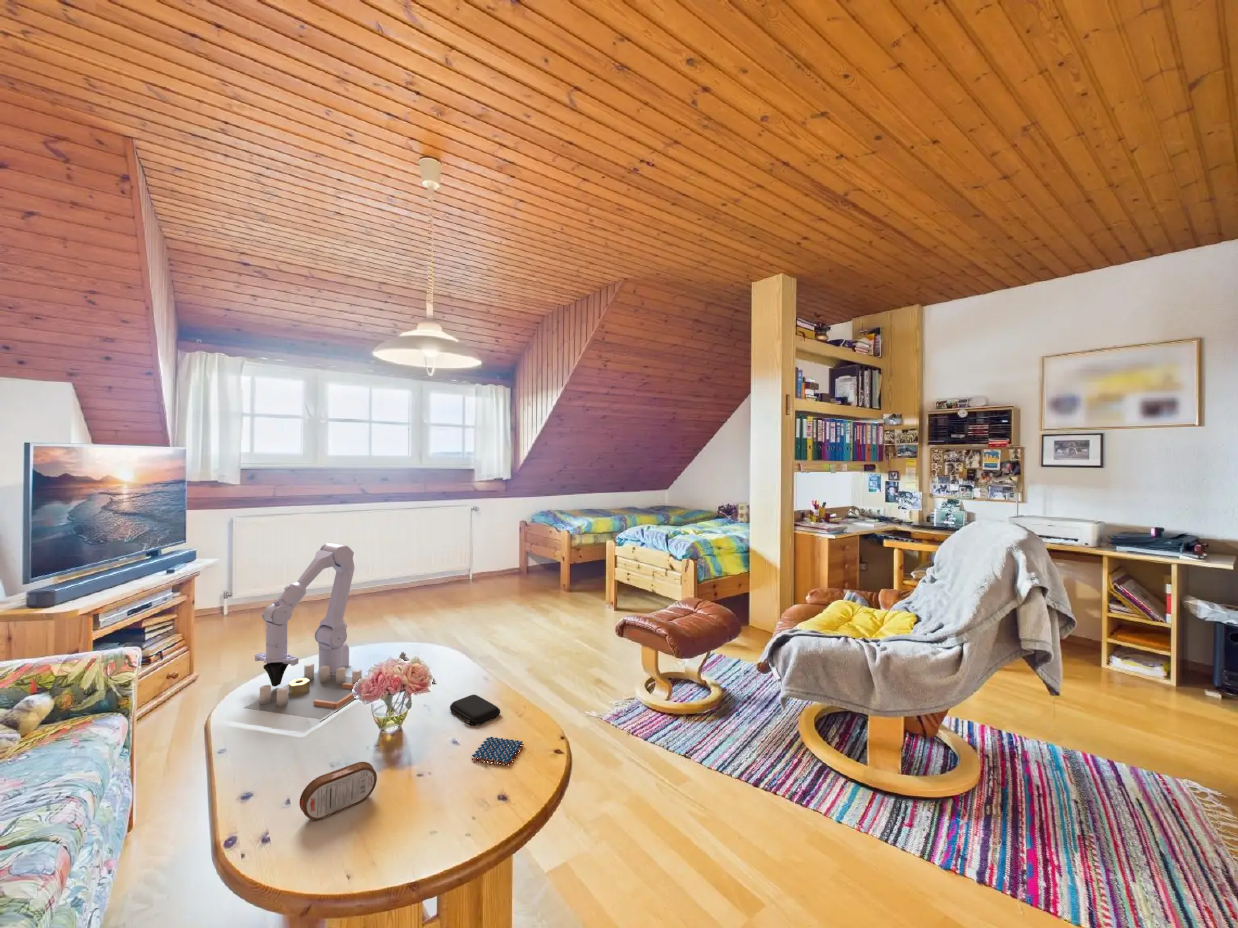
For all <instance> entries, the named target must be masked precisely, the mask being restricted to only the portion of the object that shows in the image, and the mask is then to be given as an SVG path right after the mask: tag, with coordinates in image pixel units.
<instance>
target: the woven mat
mask: <svg viewBox="0 0 1238 928" xmlns="http://www.w3.org/2000/svg"><path fill="white" fill-rule="evenodd" d="M508 745H509V746H508ZM520 745H524V746H525V744H524V743H523V740H518V739H517V740H516V739H514V740H513V739H509V738H506V739H505V738H503V737H501V738H500V737H497V736H496V737H495V736H489V737H486V738H485V740H483V741H482V743H481V744H480V747H477V750H475V751H474V754H472V755H471V757H472V758H471V760H472V762H473V761H475V762H478V761H481V762H484V761H485V762H487V761H488V762H489V763H491V762H494V763H493V765H494V764H496V765H498V764H497V762H498V763H501V766H502V765H505V764H506V765H508V764H509V765H510V766H511V765H512V763H513V762H512V761H514V762H515V760H516V758H517V756H518V755H519V753H520V752H519V750H520V748H522V747H523V748H524V746H520ZM523 748H522V749H523ZM518 752H519V753H518ZM515 753H516V754H515ZM515 757H516V758H515ZM477 758H478V759H477ZM513 759H514V760H513ZM485 762H484V763H485ZM506 765H505V766H506Z"/></svg>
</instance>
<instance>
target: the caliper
mask: <svg viewBox="0 0 1238 928" xmlns="http://www.w3.org/2000/svg"><path fill="white" fill-rule="evenodd" d="M399 658H401V659H403V660H404V661H409V660H411V659H410V658H409V657H408V656H407V654H406V653H405V652H404V651H403V652H402V651H401V652H400V654H399ZM399 658H398V659H399ZM435 682H437V681H436V680H435V678H434V677H433V683H435ZM433 683H432V684H433ZM435 684H436V683H435Z"/></svg>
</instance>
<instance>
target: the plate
mask: <svg viewBox="0 0 1238 928" xmlns="http://www.w3.org/2000/svg"><path fill="white" fill-rule="evenodd" d="M346 669H347V667H341V668H337V669H336V672H335V674H331V673H330V666H328V665H326V666H322V667H320V672H315V664H314V663H306V664H305V665H304V668H303V676H302V677H300V678H299V679H301V678H307V679H308V680H309V681H310V690H309V691H307V692H305V693H304V694H299V695H291V694H290V693H289V683H288V684H287V685H285V686H282V687H280V688H277V689H276V690H274V692H272V684H271V685H270V684H267V685H266V684H265V685H262V686H260V688H259V699H257V700H256V701H254V702H251V703H250V704H248V705H246V706H244V707H243V709H248V710H255V711H263V712H269V713H277V714H283V715H288V716H289V715H291V716H297V717H303V718H309V719H310V718H311V719H317V720H320V721H319V723H321V722H323V721H325V720H326V719H328V718H329V717H330V716H333V715H334V714H335V713H337V712H338V711H340V710H341V709H343V708H345V707H346V706H348V705H349V704H351V703H352V702H354V701H355V700H356V698H353V700H352V699H350V700H349V701H350V702H349V701H347V702H346V703H344V704H343V705H344V706H341V707H339V708H332V707H325V706H317V705H314V700H324V701H331V702H338V701H339V700H341V699H342V698H344V697H346V696H347V695H349V694H350V693H352V689H348V688H342V684H343V683H351V684H355V683H356V682H358V680H359V679H361V678H362V679H363V670H362V669H360V668H359V669H353V670H352V672H351V673H352V674H351V677H350V676H346ZM337 709H338V710H337ZM335 710H336V711H335ZM334 711H335V712H334ZM332 712H333V713H332ZM330 713H331V714H330ZM329 714H330V715H329ZM327 715H328V716H327ZM326 716H327V717H326ZM324 717H325V718H324ZM322 718H324V719H322ZM321 719H322V720H321Z"/></svg>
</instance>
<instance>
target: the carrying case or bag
mask: <svg viewBox="0 0 1238 928" xmlns="http://www.w3.org/2000/svg"><path fill="white" fill-rule="evenodd" d="M449 709H450V710H449V711H450V712H452V713H453V714H455V715H457V716H458V717H460V718H461V719H462V722H464V723H468V724H469V725H473V726H479V725H482V724H485V723H486V721H487V722H490V721H491V719H492V720H493V718H494V719H496V718H498V717H499V716H500V715H501V709H500V707H498V706H497V705H495V704H493V703H491V702H490V701H488V700H487V699H484V698H483V697H481V696H479V695H477V694H470V695H468V696H465V697H463V698H460V699H457V700H454V701H453V702H452V703H451V704H450V706H449ZM497 716H498V717H497ZM484 722H485V723H484Z"/></svg>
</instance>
